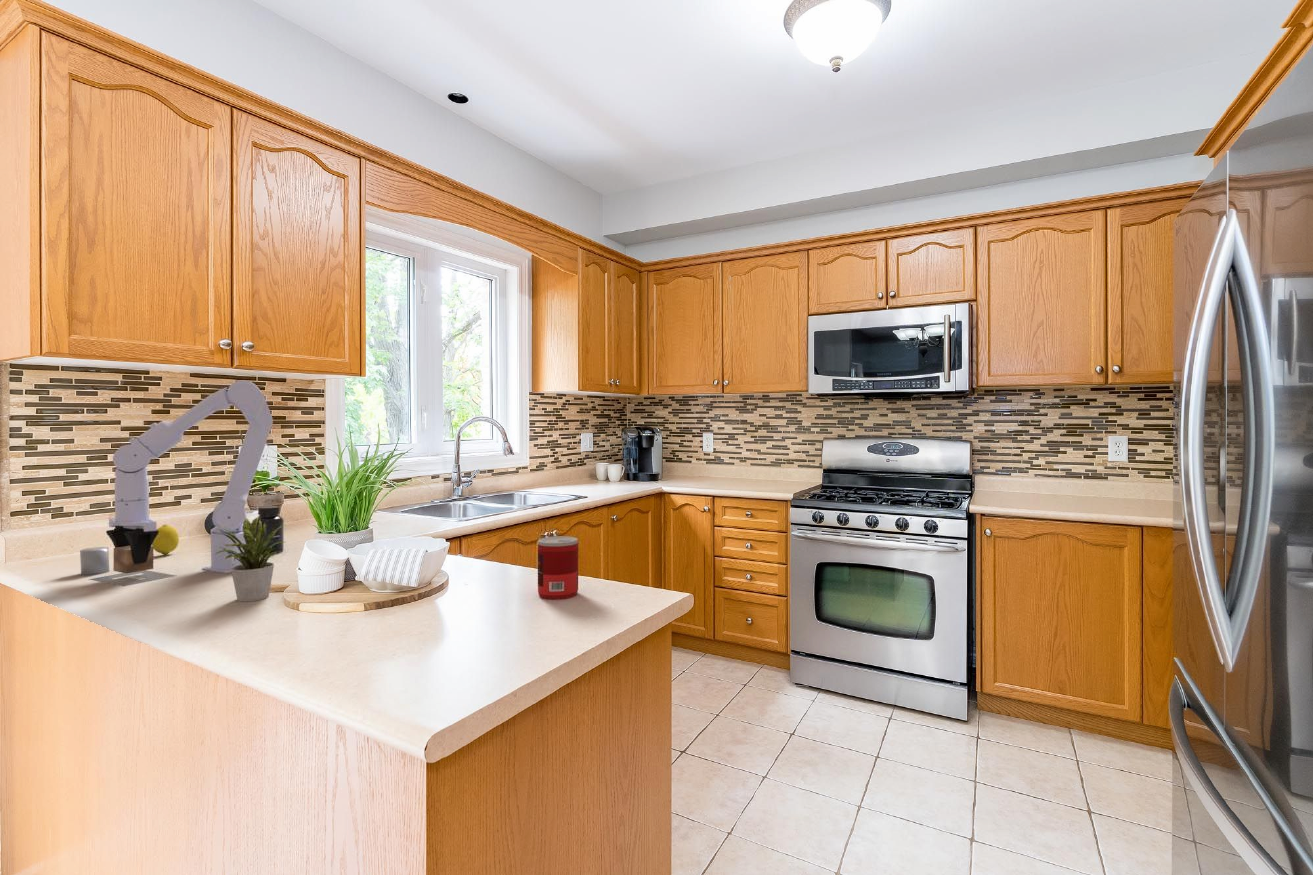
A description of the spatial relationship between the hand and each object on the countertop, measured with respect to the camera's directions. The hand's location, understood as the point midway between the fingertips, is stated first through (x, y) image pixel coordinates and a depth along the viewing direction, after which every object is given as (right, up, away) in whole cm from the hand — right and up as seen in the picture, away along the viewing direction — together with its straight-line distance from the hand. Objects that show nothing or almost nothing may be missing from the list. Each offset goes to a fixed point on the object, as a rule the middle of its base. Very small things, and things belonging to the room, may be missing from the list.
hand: (132, 561), depth 137 cm
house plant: (+35, -4, -15) cm, 38 cm away
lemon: (-12, -3, +24) cm, 27 cm away
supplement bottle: (+12, -3, +29) cm, 31 cm away
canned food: (+95, -4, -13) cm, 96 cm away
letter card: (0, -4, 0) cm, 4 cm away
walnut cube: (0, -2, 0) cm, 2 cm away
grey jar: (-12, -4, +5) cm, 14 cm away
